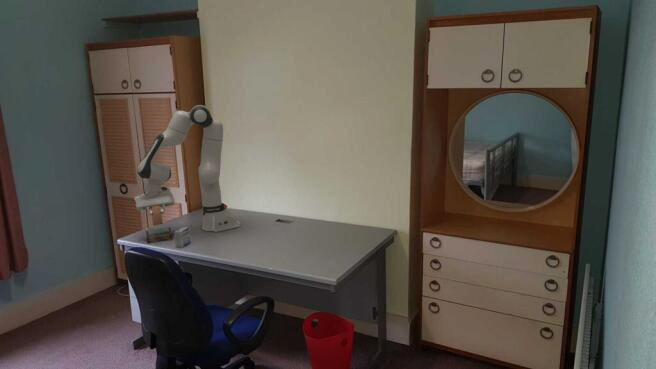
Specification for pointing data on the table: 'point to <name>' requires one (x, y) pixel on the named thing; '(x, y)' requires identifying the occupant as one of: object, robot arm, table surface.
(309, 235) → the table surface
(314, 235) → the table surface
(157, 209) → the terracotta canister
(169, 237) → the frame
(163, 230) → the pad
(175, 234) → the medicine box
